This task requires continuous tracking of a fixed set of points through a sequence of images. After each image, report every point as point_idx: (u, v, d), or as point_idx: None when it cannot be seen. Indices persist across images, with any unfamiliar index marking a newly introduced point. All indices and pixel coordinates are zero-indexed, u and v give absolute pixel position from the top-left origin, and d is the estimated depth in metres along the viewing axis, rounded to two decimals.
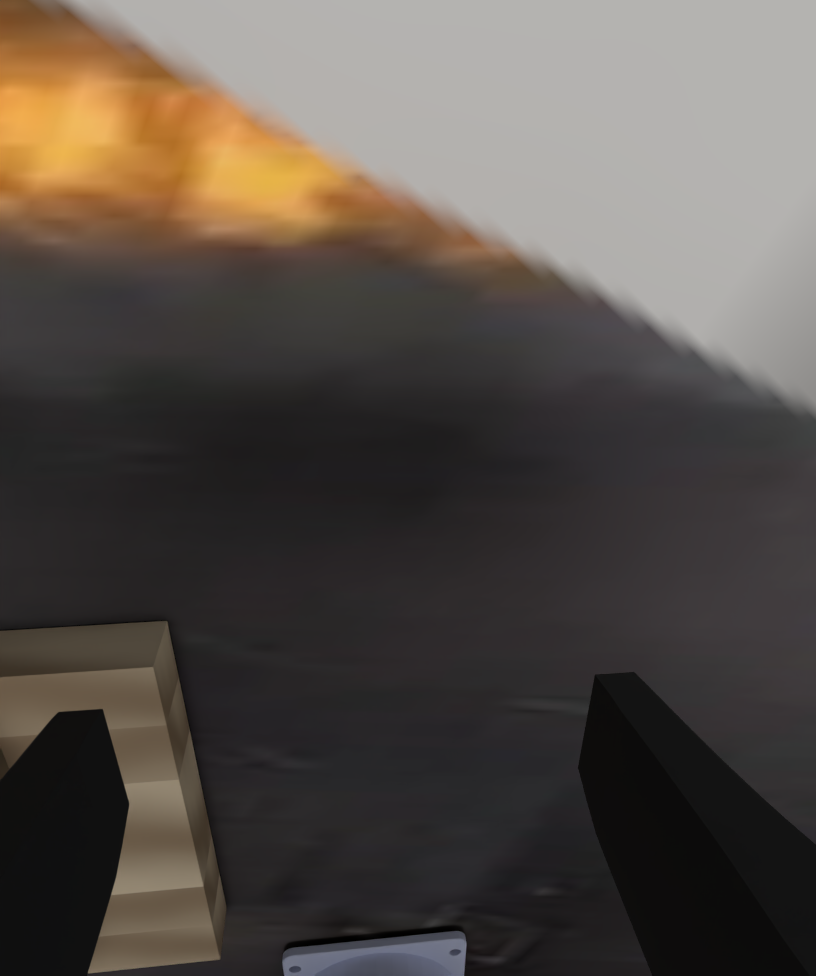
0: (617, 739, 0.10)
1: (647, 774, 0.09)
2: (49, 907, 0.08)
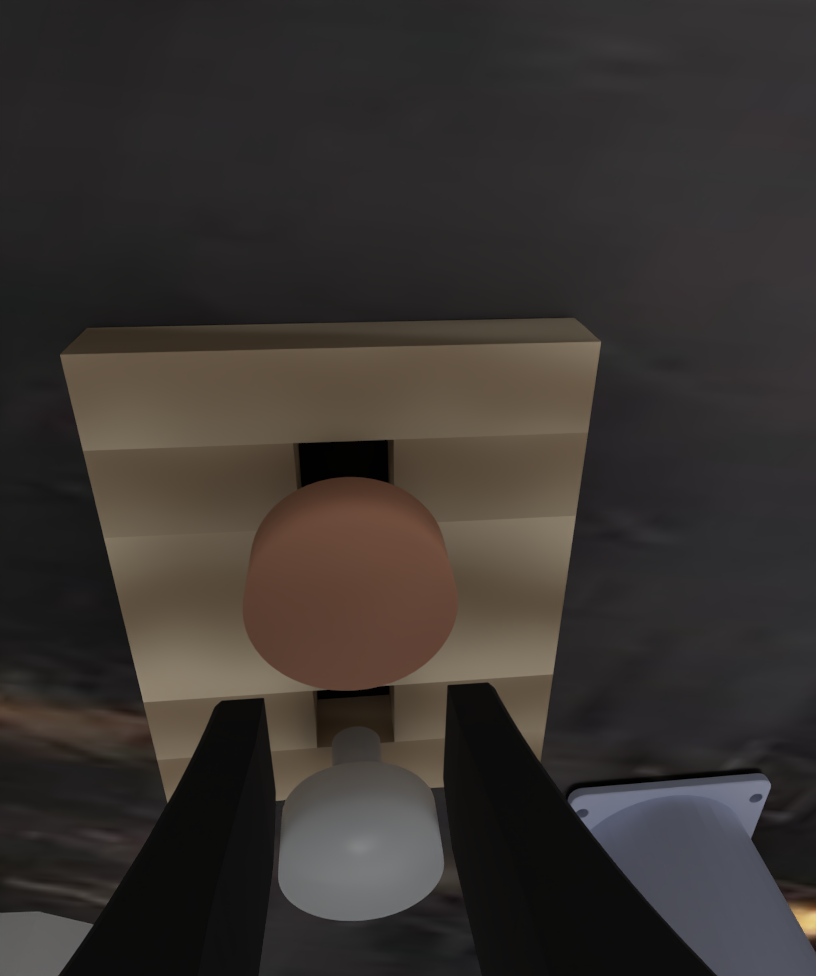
0: (458, 751, 0.09)
1: (474, 788, 0.09)
2: (244, 889, 0.08)
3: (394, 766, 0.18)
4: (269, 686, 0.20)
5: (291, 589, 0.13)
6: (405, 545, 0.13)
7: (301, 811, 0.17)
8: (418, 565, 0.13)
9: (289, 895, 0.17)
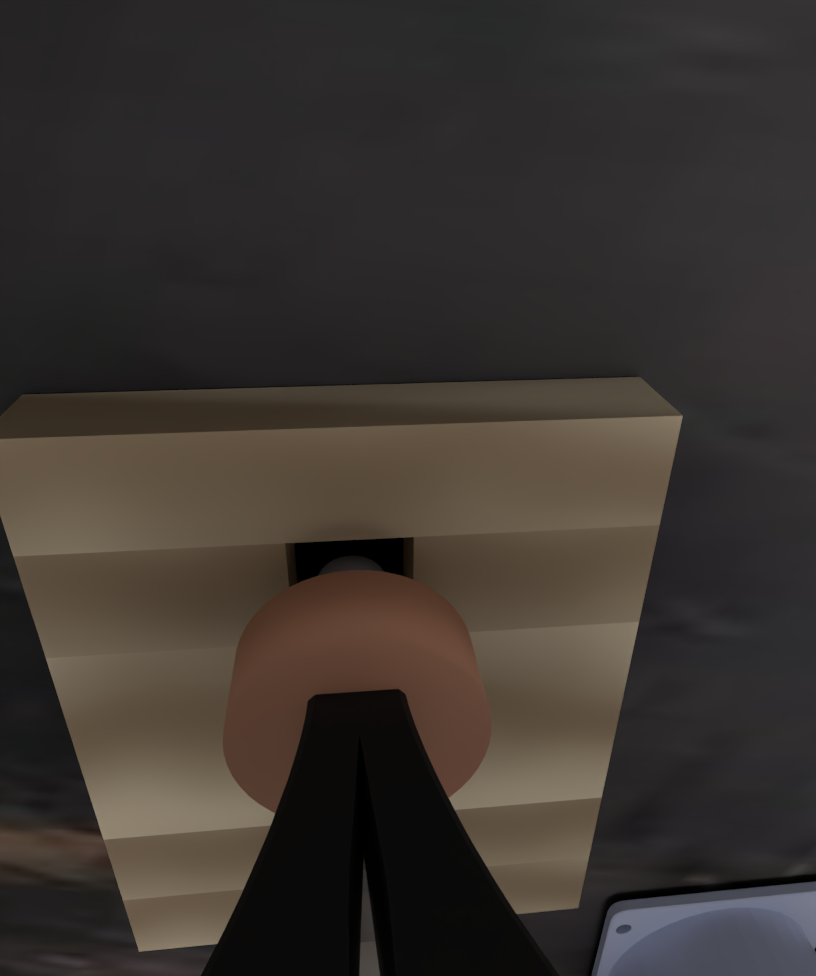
0: (360, 759, 0.09)
1: (368, 798, 0.09)
2: (356, 879, 0.08)
3: None
4: (257, 818, 0.17)
5: (283, 718, 0.10)
6: (427, 666, 0.10)
7: None
8: (443, 688, 0.10)
9: None
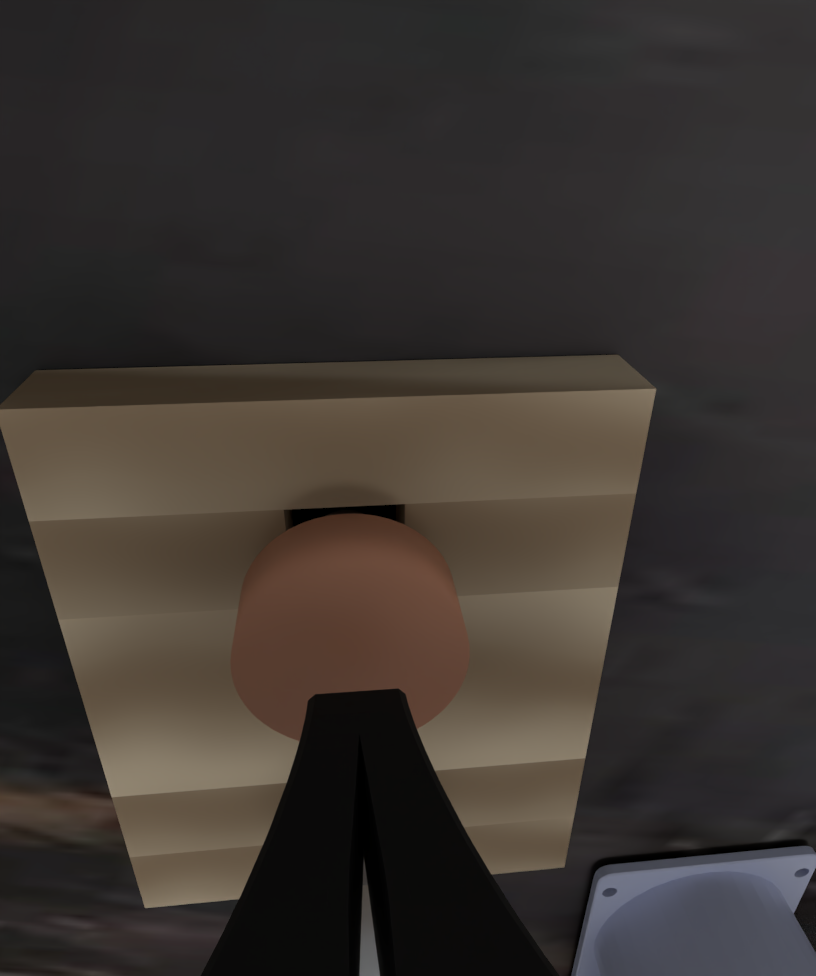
0: (360, 759, 0.09)
1: (367, 797, 0.09)
2: (355, 879, 0.08)
3: None
4: (258, 777, 0.18)
5: (284, 641, 0.11)
6: (411, 593, 0.11)
7: None
8: (426, 614, 0.11)
9: None
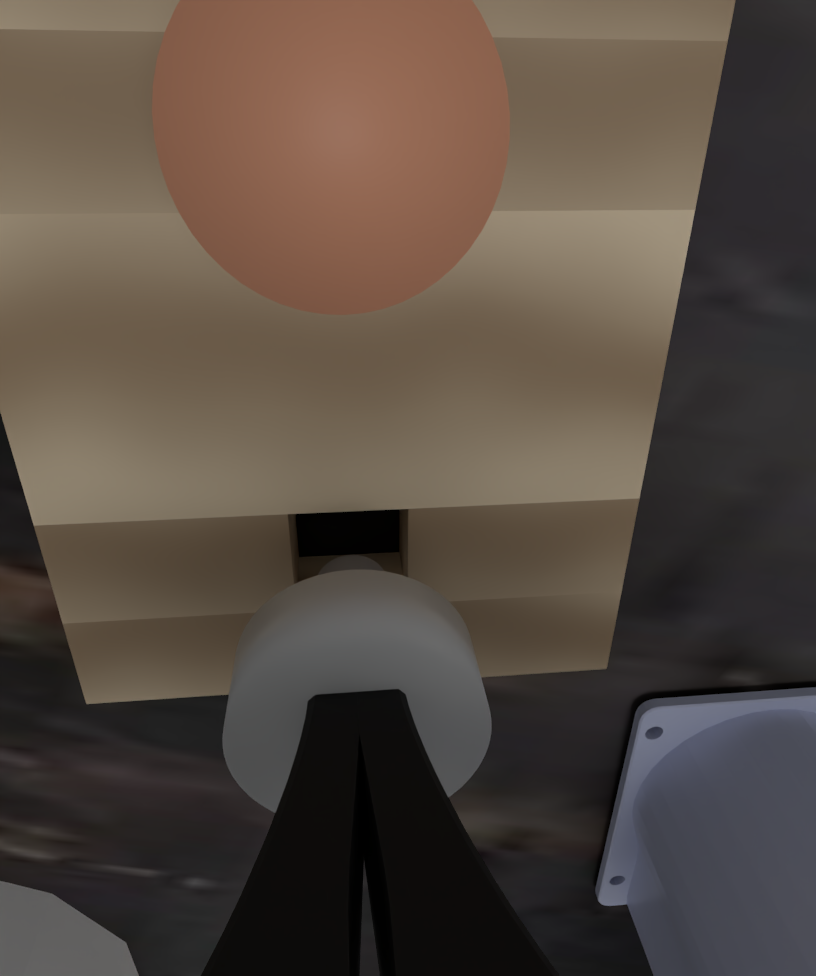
0: (360, 759, 0.09)
1: (368, 797, 0.09)
2: (355, 879, 0.08)
3: (411, 580, 0.11)
4: (222, 504, 0.14)
5: (233, 77, 0.08)
6: None
7: (261, 639, 0.10)
8: (447, 39, 0.08)
9: (242, 781, 0.11)
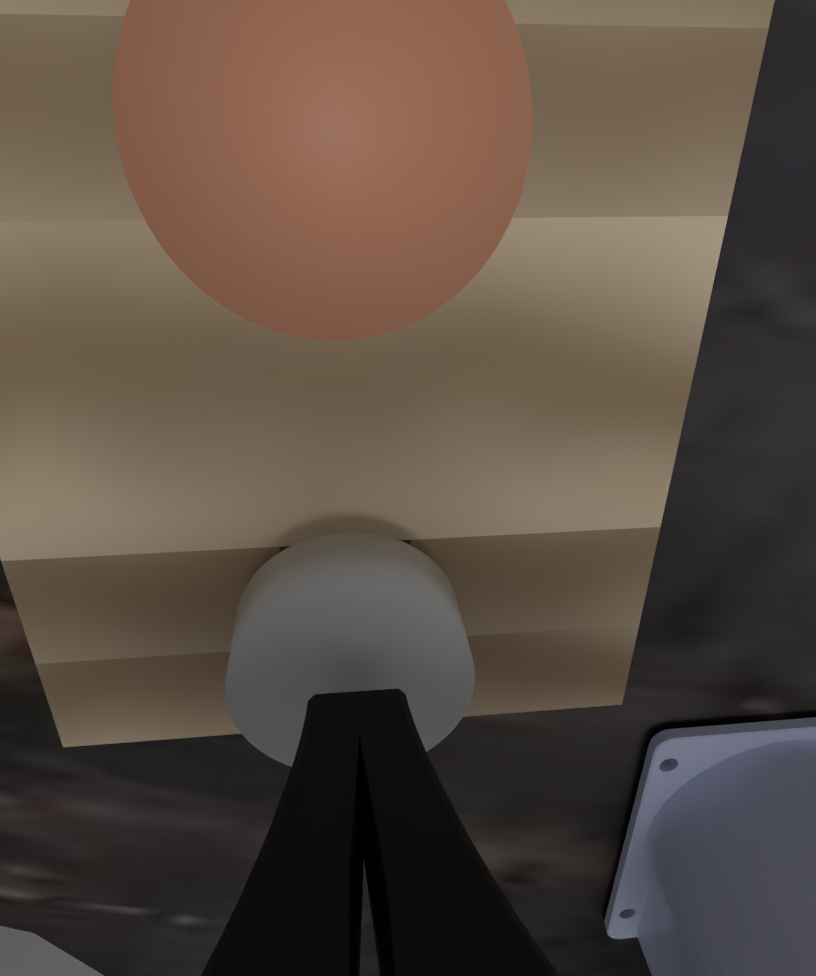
0: (360, 759, 0.09)
1: (367, 797, 0.09)
2: (355, 879, 0.08)
3: (400, 542, 0.12)
4: (208, 537, 0.13)
5: (208, 66, 0.06)
6: None
7: (260, 594, 0.11)
8: (460, 21, 0.06)
9: (243, 727, 0.12)
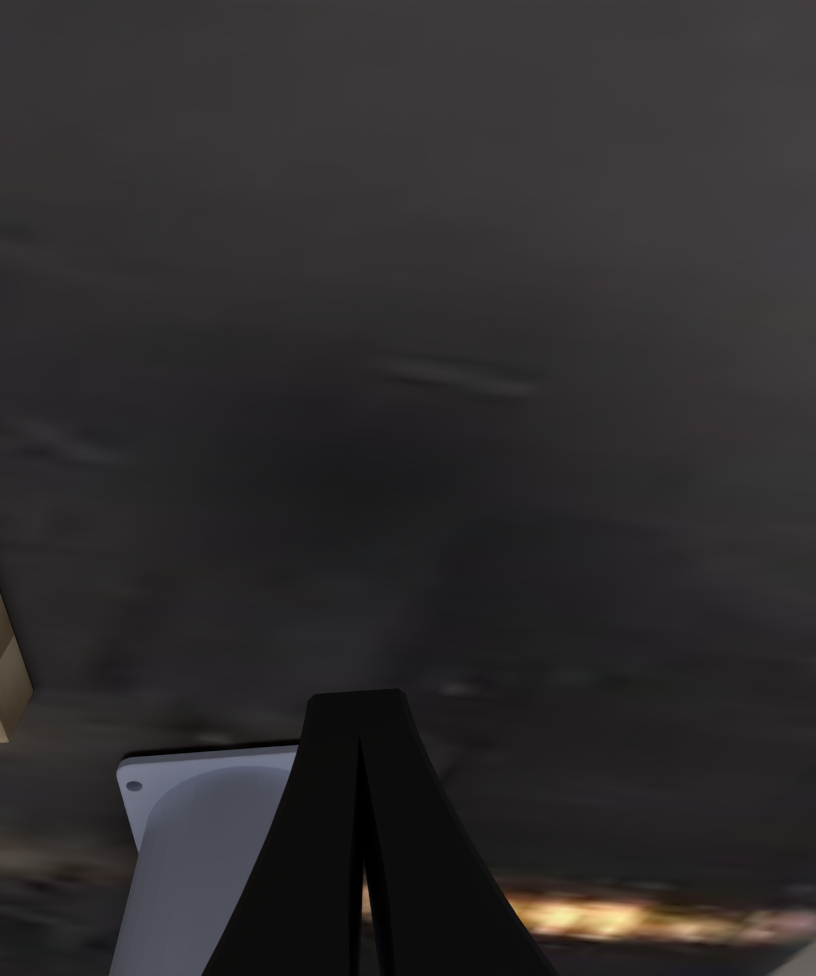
0: (360, 759, 0.09)
1: (367, 797, 0.09)
2: (355, 879, 0.08)
3: None
4: None
5: None
6: None
7: None
8: None
9: None
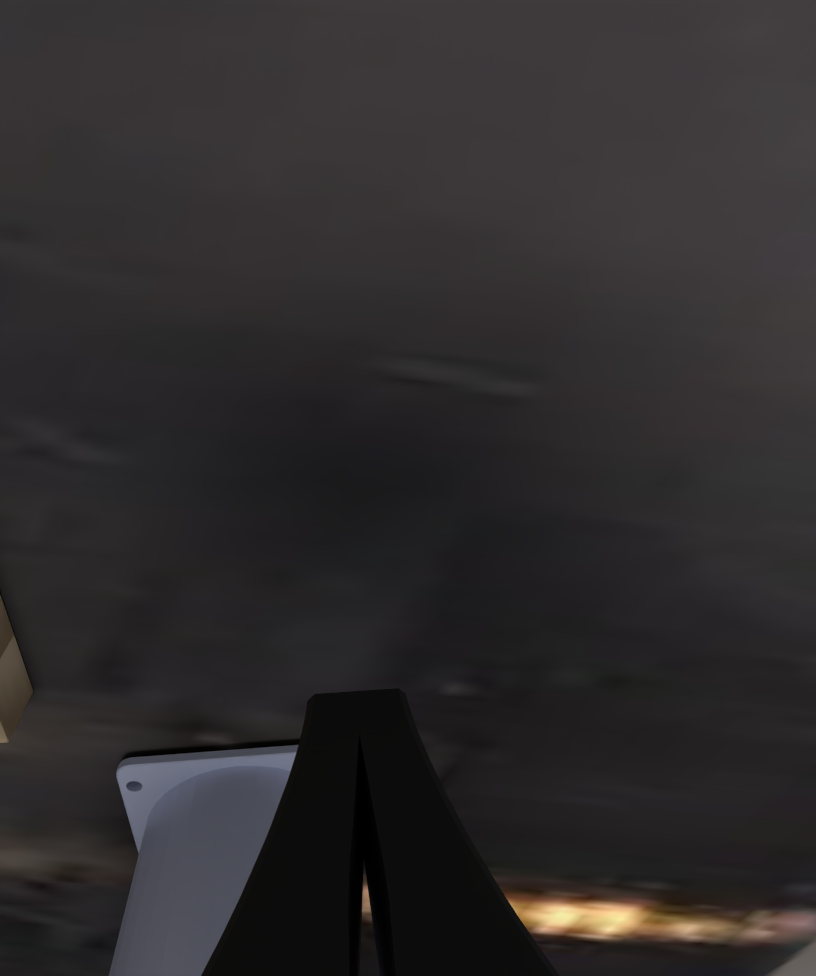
0: (360, 759, 0.09)
1: (367, 797, 0.09)
2: (355, 879, 0.08)
3: None
4: None
5: None
6: None
7: None
8: None
9: None
